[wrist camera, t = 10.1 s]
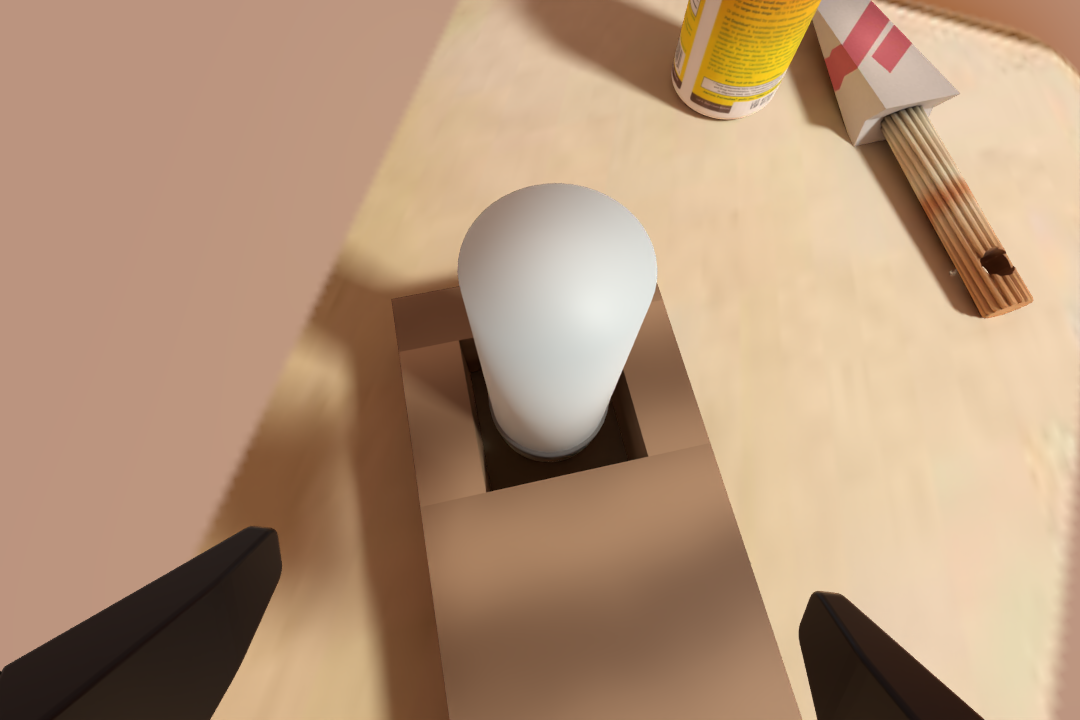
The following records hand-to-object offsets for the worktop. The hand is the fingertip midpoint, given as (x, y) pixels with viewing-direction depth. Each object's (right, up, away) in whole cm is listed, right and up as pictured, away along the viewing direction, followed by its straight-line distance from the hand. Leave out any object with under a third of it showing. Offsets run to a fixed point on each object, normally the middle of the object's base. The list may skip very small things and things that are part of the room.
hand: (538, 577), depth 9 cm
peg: (0, +1, +13) cm, 14 cm away
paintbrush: (+18, +14, +19) cm, 30 cm away
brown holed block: (+1, -3, +12) cm, 12 cm away
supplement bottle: (+10, +18, +20) cm, 29 cm away
